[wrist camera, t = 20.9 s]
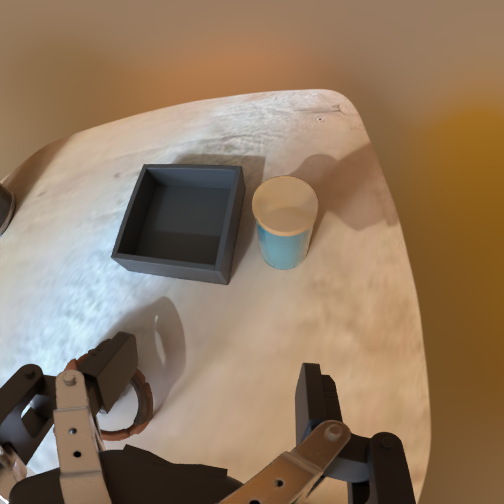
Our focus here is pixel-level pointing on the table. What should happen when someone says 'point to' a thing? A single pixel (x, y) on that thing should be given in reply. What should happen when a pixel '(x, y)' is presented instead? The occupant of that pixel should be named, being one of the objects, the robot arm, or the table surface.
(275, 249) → the spice jar
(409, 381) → the table surface
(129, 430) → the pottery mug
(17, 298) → the table surface
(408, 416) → the table surface
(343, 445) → the robot arm
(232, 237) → the bin
